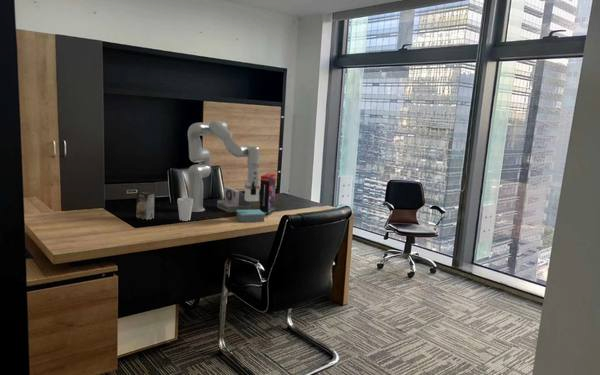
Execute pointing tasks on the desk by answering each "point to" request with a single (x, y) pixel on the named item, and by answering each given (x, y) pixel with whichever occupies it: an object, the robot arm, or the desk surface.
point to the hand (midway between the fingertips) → (251, 193)
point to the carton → (248, 192)
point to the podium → (250, 215)
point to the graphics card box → (267, 193)
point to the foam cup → (185, 208)
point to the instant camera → (233, 200)
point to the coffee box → (145, 205)
